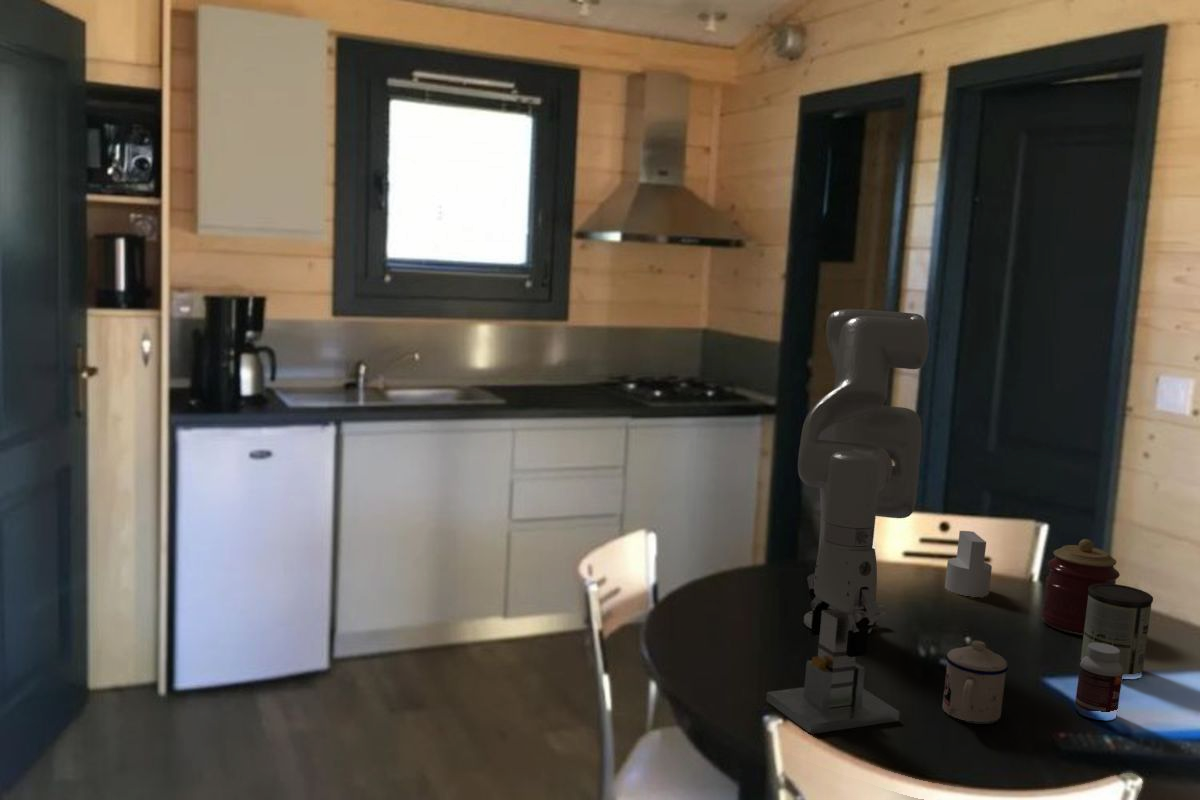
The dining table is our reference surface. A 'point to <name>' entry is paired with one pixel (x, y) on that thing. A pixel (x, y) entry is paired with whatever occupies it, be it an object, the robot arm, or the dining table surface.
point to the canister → (1074, 583)
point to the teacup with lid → (974, 683)
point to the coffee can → (1118, 622)
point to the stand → (814, 700)
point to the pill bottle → (1099, 679)
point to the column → (837, 655)
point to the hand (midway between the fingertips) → (837, 644)
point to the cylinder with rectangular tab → (969, 567)
